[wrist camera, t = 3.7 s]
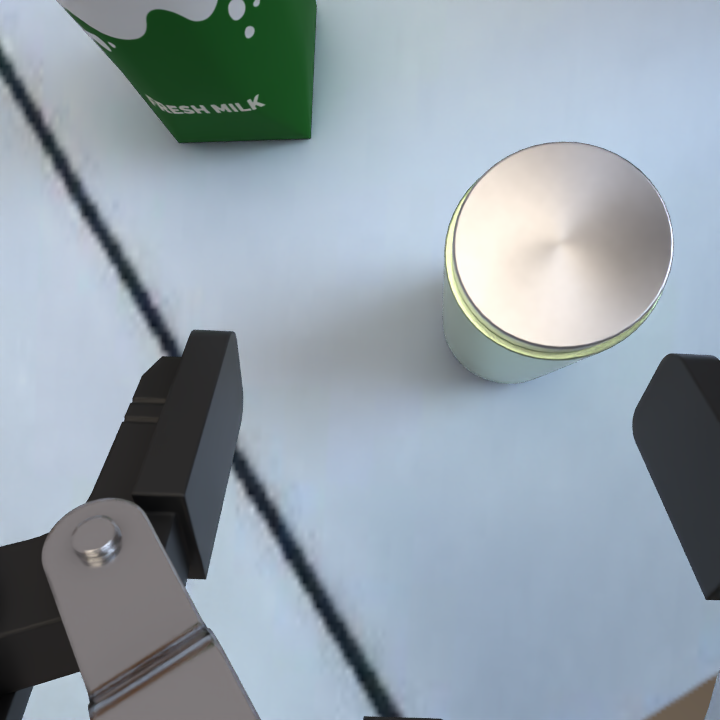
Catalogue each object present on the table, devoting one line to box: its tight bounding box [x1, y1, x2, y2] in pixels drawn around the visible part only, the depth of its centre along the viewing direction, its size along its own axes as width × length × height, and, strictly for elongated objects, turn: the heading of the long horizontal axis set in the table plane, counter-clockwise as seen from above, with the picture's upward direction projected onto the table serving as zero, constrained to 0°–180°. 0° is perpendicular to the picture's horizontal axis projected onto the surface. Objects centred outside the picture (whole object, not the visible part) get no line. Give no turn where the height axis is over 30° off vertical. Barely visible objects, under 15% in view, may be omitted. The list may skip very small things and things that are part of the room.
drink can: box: [442, 142, 674, 384], centre depth 20 cm, size 6×6×12 cm
